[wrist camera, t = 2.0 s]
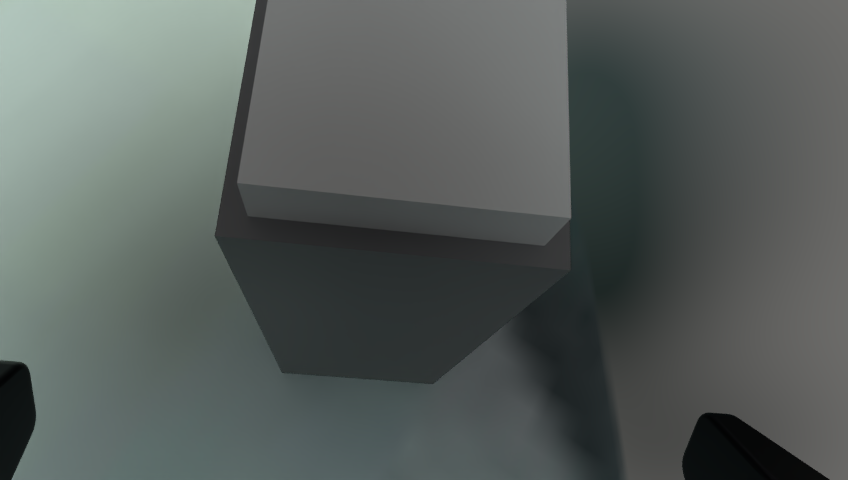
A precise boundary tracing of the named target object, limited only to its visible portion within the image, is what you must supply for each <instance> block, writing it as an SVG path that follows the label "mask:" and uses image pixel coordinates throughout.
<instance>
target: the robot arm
mask: <svg viewBox="0 0 848 480" xmlns="http://www.w3.org/2000/svg"><path fill="white" fill-rule="evenodd" d="M35 421H36V410H35V403H34V396H33V390H32V383H31V377H30V372H29V369H28V367H27V366H26V365H25V364H24V363H22V362H15V361H2V360H0V480H11V479H12V477H13V475H14V473H15V471H16V468H17V466H18V464H19V462H20V459H21V457H22V455H23V453H24V451H25V448H26V446H27V444H28V442H29V439H30V437H31V435H32V432H33V430H34V426H35ZM682 467H683V474H684V478H685V480H829V479H828V478H826V477H825V476H823V475H822V474H821V473H819V472H818V471H816V470H815V469H813V468H812V467H810V466H809V465H807V464H806V463H804V462H803V461H801V460H799V459H798V458H797V457H795V456H794V455H792V454H791V453H789V452H788V451H786V450H785V449H783V448H782V447H780V446H779V445H777V444H776V443H775V442H773V441H772V440H770V439H768V438H767V437H766V436H764V435H763V434H761V433H759V432H758V431H757V430H755V429H754V428H752V427H751V426H749V425H748V424H746V423H745V422H743V421H742V420H740V419H739V418H737V417H736V416H734V415H730V414H722V413H705V414H703V415H701V416H700V417H699V419H698V421H697V423H696V426H695V428H694V430H693V433H692V435H691V438H690V441H689V443H688V445H687V448H686V450H685V453H684V456H683V461H682Z"/></svg>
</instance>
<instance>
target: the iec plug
mask: <svg viewBox="0 0 848 480" xmlns="http://www.w3.org/2000/svg"><path fill="white" fill-rule="evenodd" d="M566 20H567V19H566V0H256V5H255V11H254V16H253V22H252V28H251V33H250V39H249V45H248V50H247V56H246V62H245V67H244V73H243V79H242V84H241V90H240V96H239V101H238V107H237V113H236V119H235V124H234V130H233V136H232V141H231V147H230V153H229V158H228V164H227V170H226V175H225V181H224V187H223V192H222V198H221V204H220V209H219V215H218V221H217V227H216V232H215V237H216V239H217V241H218V244H219V246H220V248H221V250H222V252H223V254H224V256H225V258H226V260H227V262H228V264H229V266H230V268H231V270H232V272H233V274H234V276H235V278H236V280H237V282H238V284H239V286H240V288H241V290H242V292H243V294H244V296H245V298H246V300H247V302H248V304H249V306H250V308H251V310H252V312H253V314H254V317H255V319H256V321H257V323H258V325H259V327H260V329H261V331H262V333H263V335H264V337H265V339H266V341H267V343H268V345H269V347H270V349H271V351H272V353H273V355H274V357H275V359H276V361H277V363H278V365H279V367H280V369H281V371H282V373H294V374H307V375H320V376H334V377H347V378H361V379H374V380H387V381H401V382H414V383H428V384H433V383H435V382H436V381H437V380H438V379H440V378H441V377H442V376H443V375H444V374H446V373H447V372H448V371H449V370H450V369H452V368H453V367H454V366H455V365H457V364H458V363H459V362H460V361H461V360H463V359H464V358H465V357H466V356H467V355H469V354H470V353H471V352H472V351H474V350H475V349H476V348H477V347H478V346H480V345H481V344H482V343H483V342H484V341H486V340H487V339H488V338H489V337H491V336H492V335H493V334H494V333H495V332H497V331H498V330H499V329H500V328H501V327H503V326H504V325H505V324H506V323H508V322H509V321H510V320H511V319H512V318H514V317H515V316H516V315H517V314H518V313H520V312H521V311H522V310H523V309H525V308H526V307H527V306H528V305H529V304H531V303H532V302H533V301H534V300H535V299H537V298H538V297H539V296H540V295H542V294H543V293H544V292H545V291H546V290H548V289H549V288H550V287H551V286H552V285H554V284H555V283H556V282H557V281H559V280H560V279H561V278H562V277H563V276H565V275H566V274H567V273H568V272H569V271H571V252H570V219H571V188H570V148H569V147H570V145H569V105H568V104H569V103H568V61H567V21H566Z"/></svg>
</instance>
